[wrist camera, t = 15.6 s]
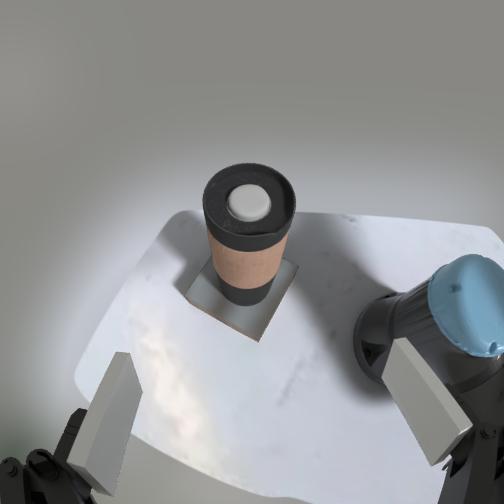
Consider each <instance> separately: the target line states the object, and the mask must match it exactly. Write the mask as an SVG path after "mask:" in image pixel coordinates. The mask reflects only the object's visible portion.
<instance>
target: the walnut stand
mask: <svg viewBox="0 0 504 504" xmlns="http://www.w3.org/2000/svg"><path fill="white" fill-rule="evenodd" d="M298 267H299V266H297V265H295V264H293V263H291V262H289V261H287V260H285V259H283V258H281V262H280V265H279V268H278V271H277V274H276V276H275V279H274V281H273V283H272V286H271V288H270V291H269V293H268V294H267V296H266V297H265V298H264V299H263V300H262V301H261V302H260V303H258V304H255V305H252V306H239V305H236V304H234V303H232V302H230V301H229V300H228V299H227V298H226V297H225V295H224V294H223V292H222V290H221V287H220V284H219V281H218V277H217V274H216V271H215V267H214V263H213V258H212V255H211V257H210V258H209V260H208V261H207V263H206V264H205V266H204V267H203V269H202V270H201V272H200V273H199V275H198V276H197V278H196V279H195V281H194V282H193V284H192V285H191V287H190V288H189V290H188V291H187V293H186V294H185V297H186V298H187V300H188V301H189V303H190V304H192V305H194V306H195V307H197V308H199V309H200V310H202V311H204V312H205V313H207V314H209V315H210V316H212V317H214V318H216V319H217V320H219V321H221V322H223V323H224V324H226V325H228V326H230V327H231V328H233V329H235V330H237V331H239V332H240V333H242V334H244V335H246V336H248V337H249V338H251V339H253V340H255V341H257V342H259V340H260V338H261V337H262V335H263V333H264V331H265V329H266V328H267V326H268V324H269V322H270V320H271V319H272V317H273V315H274V313H275V311H276V309H277V308H278V306H279V304H280V302H281V300H282V298H283V296H284V295H285V293H286V291H287V289H288V287H289V285H290V283H291V281H292V279H293V278H294V276H295V274H296V271H297V269H298Z"/></svg>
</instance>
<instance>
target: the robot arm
mask: <svg viewBox="0 0 504 504" xmlns="http://www.w3.org/2000/svg"><path fill="white" fill-rule="evenodd" d="M354 350H355V355H356V358H357V360H358V363H359V365H360V366H361V368H362V369H363V371H364V372H365V373H366V374H367V375H368V376H369V377H370V378H372V379H373V380H375V381H377V382H379V383H382V384H385V385H386V387H387V388H388V390H389V392H390V393H391V395H392V397H393V398H394V400H395V402H396V404H397V405H398V407H399V409H400V411H401V412H402V414H403V416H404V418H405V419H406V421H407V423H408V425H409V427H410V428H411V430H412V432H413V434H414V436H415V437H416V439H417V441H418V443H419V445H420V447H421V449H422V450H423V452H424V454H425V456H426V458H427V460H428V462H429V464H430V466H434V465H436V464H438V463H440V462H442V461H444V460H445V459H446V457H447V456H448V455H449V454H450V455H451V456H452V458H451V459H450V460H449V461H448V462H447V463H446V464H445V465H444V467H443V468H442V470H443V471H444V470H445V469H446V468H447V466H448V469H447V470H446V471H447V473H446V477H445V481H444V484H443V488H442V491H441V494H440V498H439V501H438V504H504V270H503V269H502V268H501V267H500V266H499V265H498V264H497V263H496V262H494V261H493V260H491V259H489V258H487V257H486V258H484V257H482V256H481V255H477V254H469V255H464V256H462V257H459V258H458V259H456V260H454V261H453V262H451V263H449V264H446V265H444V266H442V267H440V268H439V269H438V270H437V271H436V272H435V273H434V274H433V275H432V277H430V278H429V279H427V280H426V281H424V282H423V283H421V284H419V285H418V286H416V287H415V288H413V289H412V290H410V291H408V292H404V293H390V294H386V295H383V296H381V297H379V298H378V299H376V300H375V301H373V302H372V303H370V304H369V305H368V306H367V307H366V308H365V309H364V310H363V312H362V313H361V315H360V316H359V318H358V321H357V323H356V326H355V330H354ZM142 393H143V391H142V388H141V385H140V383H139V380H138V377H137V374H136V371H135V368H134V364H133V361H132V358H131V355H130V353H123V352H116V353H115V355H114V357H113V359H112V361H111V363H110V365H109V367H108V369H107V371H106V373H105V375H104V377H103V379H102V381H101V383H100V385H99V387H98V389H97V392H96V394H95V396H94V398H93V400H92V402H91V405H90V407H89V409H88V410H85V409H81V408H78V409H77V410H76V411H75V412H74V413H73V414H72V415H71V417H70V419H69V421H68V423H67V426H66V428H65V430H64V433H63V435H62V436H61V439H60V441H59V443H58V445H57V448H56V450H55V452H54V455H52V454H51V453H50V452H48V451H47V450H44V449H35V450H33V451H32V452H30V454H29V455H28V456H27V459H26V465H23V464H22V463H21V462H20V461H19V460H17V459H16V458H13V457H9V458H6V459H4V460H3V461H2V463H1V464H0V501H1V504H97V503H96V501H95V499H94V498H93V496H92V495H91V493H90V492H91V489H92V488H93V489H94V490H95V491H96V492H98V493H101V494H105V495H108V496H112V497H114V494H115V490H116V486H117V482H118V478H119V474H120V470H121V466H122V462H123V458H124V454H125V451H126V447H127V443H128V440H129V436H130V433H131V429H132V426H133V422H134V419H135V415H136V412H137V409H138V405H139V402H140V399H141V396H142Z"/></svg>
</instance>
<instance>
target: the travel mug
mask: <svg viewBox="0 0 504 504" xmlns="http://www.w3.org/2000/svg"><path fill="white" fill-rule="evenodd" d="M295 207H296V198H295V193H294V191H293V188H292V186H291V184H290V182H289V181H288V180H287V179H286V178H285V177H284V176H283V175H282V174H281V173H279V172H278V171H276V170H274V169H273V168H270V167H268V166H265V165H261V164H256V163H241V164H235V165H232V166H229V167H226V168H224V169H222V170H221V171H219V172H218V173H216V174H215V175H214V176H213V177H212V178H211V180H210V181H209V182H208V184H207V185H206V188H205V190H204V194H203V210H204V215H205V221H206V226H207V232H208V237H209V243H210V248H211V253H212V258H213V263H214V267H215V271H216V274H217V277H218V281H219V284H220V287H221V290H222V292H223V294H224V295H225V297H226V298H227V299H228V300H229V301H230V302H232V303H234V304H236V305H239V306H252V305H255V304H258V303H260V302H261V301H262V300H263V299H264V298H265V297H266V296H267V294H268V293H269V291H270V288H271V286H272V283H273V281H274V279H275V276H276V274H277V271H278V268H279V265H280V262H281V258H282V255H283V251H284V248H285V244H286V241H287V237H288V233H289V230H290V226H291V223H292V219H293V216H294V213H295Z"/></svg>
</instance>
